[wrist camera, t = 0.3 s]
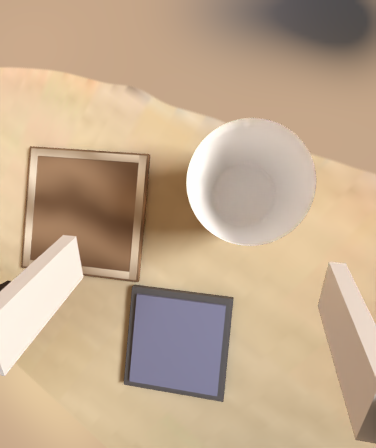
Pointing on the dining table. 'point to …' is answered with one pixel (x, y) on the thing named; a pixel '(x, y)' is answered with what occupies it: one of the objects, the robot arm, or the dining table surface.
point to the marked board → (88, 208)
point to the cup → (251, 181)
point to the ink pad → (178, 342)
